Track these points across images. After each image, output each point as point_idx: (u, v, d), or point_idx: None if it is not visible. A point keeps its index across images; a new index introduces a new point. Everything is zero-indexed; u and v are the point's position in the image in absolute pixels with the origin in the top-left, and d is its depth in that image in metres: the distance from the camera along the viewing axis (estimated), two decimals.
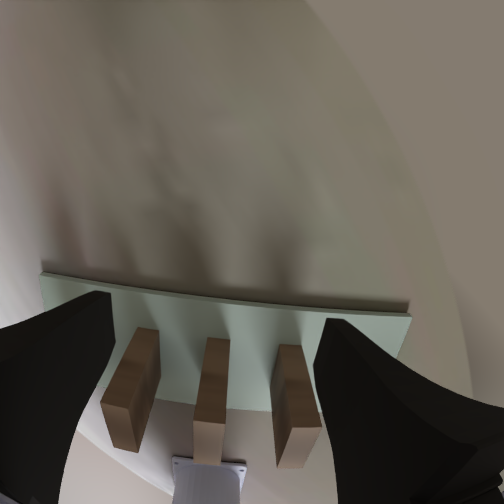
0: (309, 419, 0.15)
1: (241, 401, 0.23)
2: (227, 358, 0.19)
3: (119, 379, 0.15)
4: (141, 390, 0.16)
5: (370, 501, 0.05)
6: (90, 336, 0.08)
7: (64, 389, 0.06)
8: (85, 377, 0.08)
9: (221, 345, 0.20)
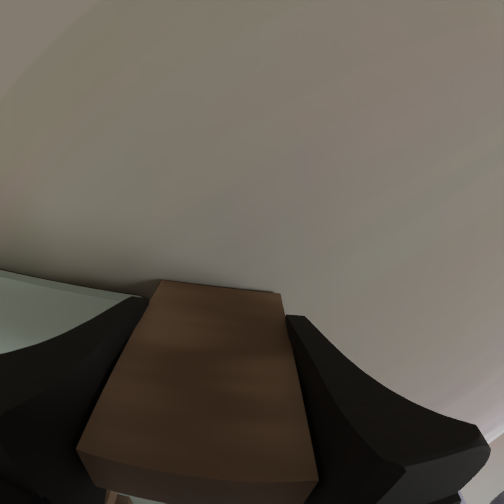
0: None
1: None
2: None
3: None
4: None
5: None
6: None
7: None
8: None
9: None
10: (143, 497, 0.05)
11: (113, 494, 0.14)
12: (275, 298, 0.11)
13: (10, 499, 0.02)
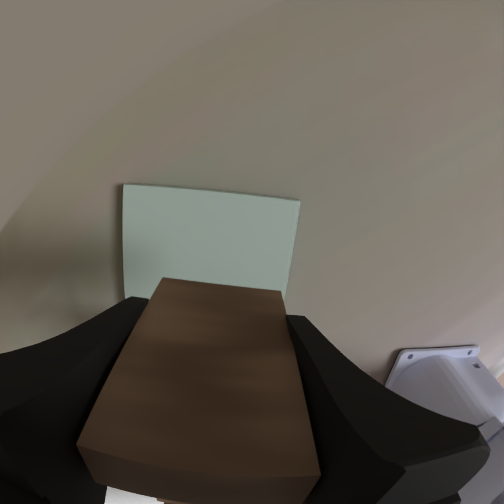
0: None
1: None
2: None
3: None
4: None
5: None
6: None
7: None
8: None
9: None
10: (145, 494, 0.05)
11: None
12: (276, 295, 0.11)
13: (10, 499, 0.02)
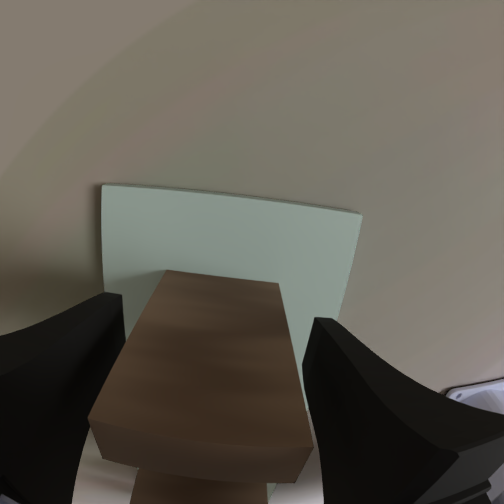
0: None
1: None
2: None
3: None
4: None
5: None
6: (102, 339, 0.08)
7: (77, 393, 0.06)
8: (97, 380, 0.08)
9: None
10: (149, 469, 0.05)
11: None
12: (273, 287, 0.12)
13: None
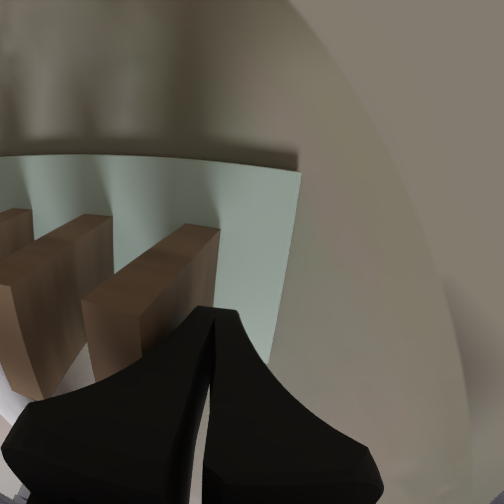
0: (7, 274, 0.07)
1: None
2: (6, 219, 0.11)
3: None
4: None
5: None
6: (208, 356, 0.08)
7: (195, 418, 0.07)
8: (201, 400, 0.08)
9: (15, 212, 0.12)
10: (88, 339, 0.07)
11: None
12: None
13: None
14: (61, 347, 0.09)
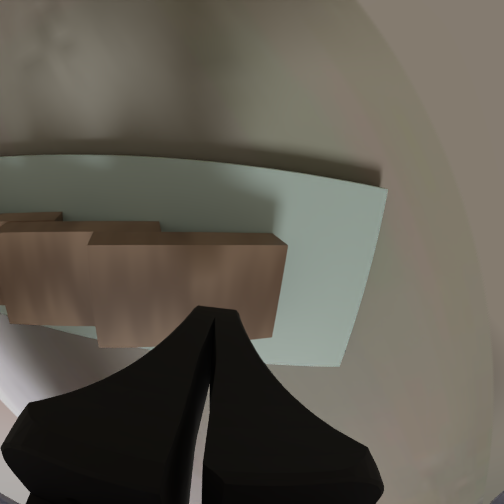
0: (8, 228, 0.10)
1: None
2: (15, 219, 0.11)
3: None
4: None
5: None
6: (208, 356, 0.08)
7: (195, 418, 0.07)
8: (201, 400, 0.08)
9: (42, 217, 0.12)
10: None
11: None
12: (264, 334, 0.14)
13: None
14: (39, 304, 0.11)
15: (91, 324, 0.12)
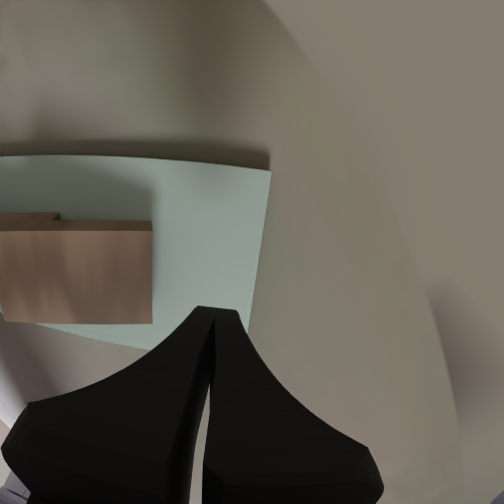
0: None
1: None
2: None
3: None
4: None
5: None
6: (208, 356, 0.08)
7: (195, 418, 0.07)
8: (201, 400, 0.08)
9: None
10: None
11: None
12: (143, 320, 0.13)
13: None
14: None
15: None
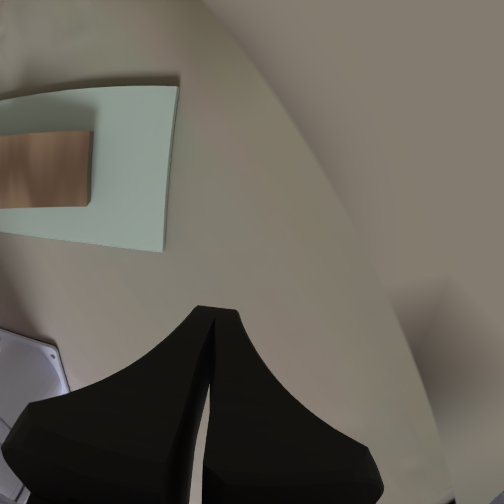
0: None
1: (16, 220, 0.18)
2: None
3: None
4: None
5: None
6: (208, 356, 0.08)
7: (195, 418, 0.07)
8: (201, 400, 0.08)
9: None
10: None
11: None
12: (80, 203, 0.16)
13: None
14: None
15: None
